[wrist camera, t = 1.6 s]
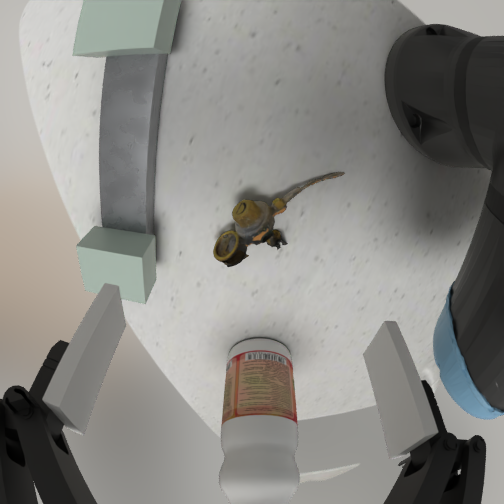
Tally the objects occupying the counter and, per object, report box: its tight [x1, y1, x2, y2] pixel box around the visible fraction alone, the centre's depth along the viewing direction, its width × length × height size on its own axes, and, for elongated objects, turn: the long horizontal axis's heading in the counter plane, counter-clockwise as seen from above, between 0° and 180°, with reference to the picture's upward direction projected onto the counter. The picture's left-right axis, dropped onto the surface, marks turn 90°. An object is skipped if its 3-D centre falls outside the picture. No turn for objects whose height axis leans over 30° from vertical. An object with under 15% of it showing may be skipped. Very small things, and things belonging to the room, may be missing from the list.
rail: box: [99, 54, 168, 235], centre depth 23 cm, size 5×28×2 cm, turn 170°
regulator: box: [213, 172, 345, 267], centre depth 27 cm, size 8×4×15 cm
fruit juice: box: [219, 338, 300, 504], centre depth 28 cm, size 9×9×28 cm
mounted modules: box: [72, 0, 181, 304], centre depth 20 cm, size 7×28×4 cm, turn 170°
